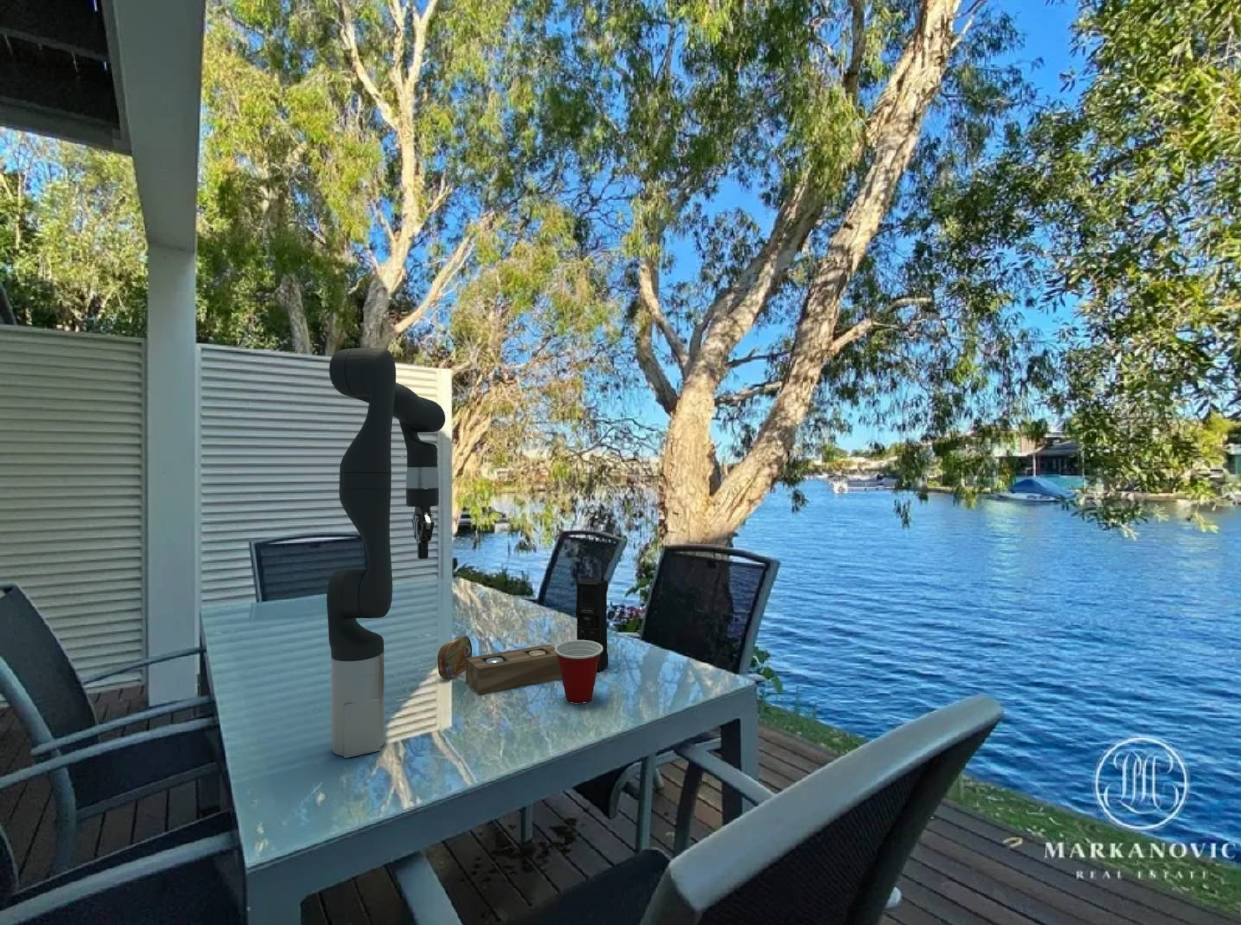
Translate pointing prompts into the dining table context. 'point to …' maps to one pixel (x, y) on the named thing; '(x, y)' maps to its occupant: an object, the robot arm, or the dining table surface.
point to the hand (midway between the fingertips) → (422, 558)
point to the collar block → (512, 669)
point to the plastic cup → (578, 668)
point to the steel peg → (494, 660)
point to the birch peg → (536, 652)
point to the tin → (454, 657)
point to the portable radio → (593, 614)
